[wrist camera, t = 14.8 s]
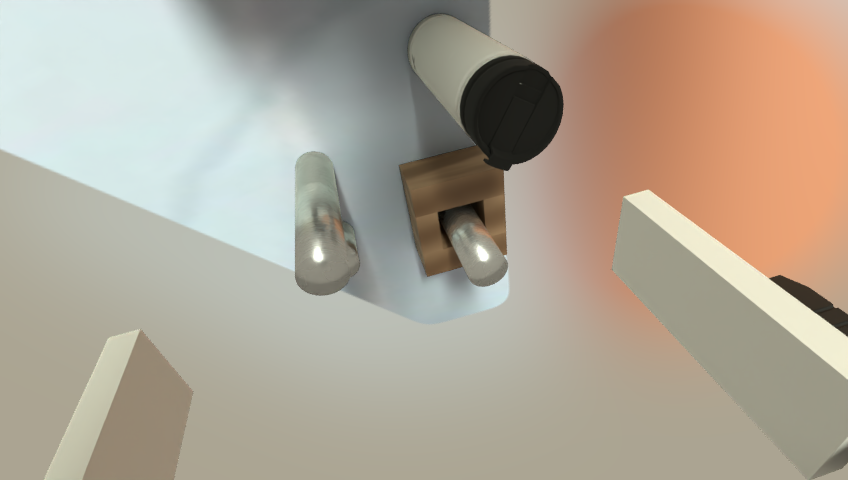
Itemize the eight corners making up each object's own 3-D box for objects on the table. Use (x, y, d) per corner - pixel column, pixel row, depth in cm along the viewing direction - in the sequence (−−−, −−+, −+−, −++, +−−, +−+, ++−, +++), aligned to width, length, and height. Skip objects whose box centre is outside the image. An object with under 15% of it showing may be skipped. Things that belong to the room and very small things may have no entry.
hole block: (399, 164, 48) (410, 190, 43) (483, 143, 49) (503, 166, 44) (416, 247, 55) (427, 276, 51) (489, 227, 56) (506, 254, 52)
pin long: (289, 156, 45) (287, 262, 30) (327, 147, 45) (342, 247, 31) (302, 189, 47) (305, 301, 33) (337, 180, 47) (356, 287, 33)
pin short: (316, 225, 50) (318, 256, 45) (349, 217, 51) (355, 246, 46) (325, 251, 53) (328, 283, 48) (357, 243, 53) (363, 274, 48)
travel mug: (395, 71, 42) (455, 156, 27) (422, 1, 39) (507, 49, 24) (450, 93, 45) (534, 182, 29) (479, 29, 42) (590, 90, 26)
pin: (429, 188, 51) (466, 260, 40) (461, 180, 51) (507, 249, 40) (433, 216, 53) (470, 291, 42) (464, 208, 54) (508, 280, 43)
